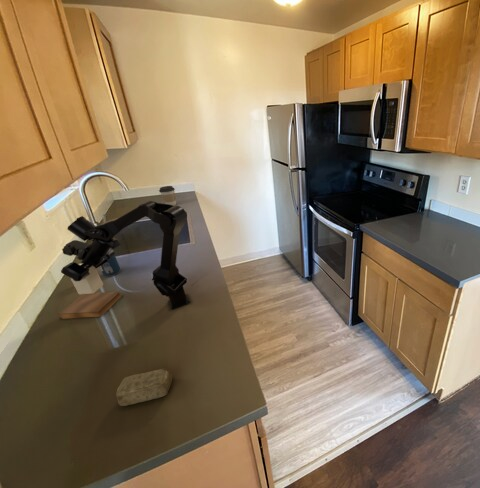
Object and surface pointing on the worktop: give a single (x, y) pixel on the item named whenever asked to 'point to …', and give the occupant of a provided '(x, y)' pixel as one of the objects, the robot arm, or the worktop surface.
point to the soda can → (110, 267)
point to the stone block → (144, 387)
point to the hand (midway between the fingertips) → (81, 276)
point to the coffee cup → (168, 195)
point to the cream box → (88, 282)
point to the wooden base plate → (90, 305)
